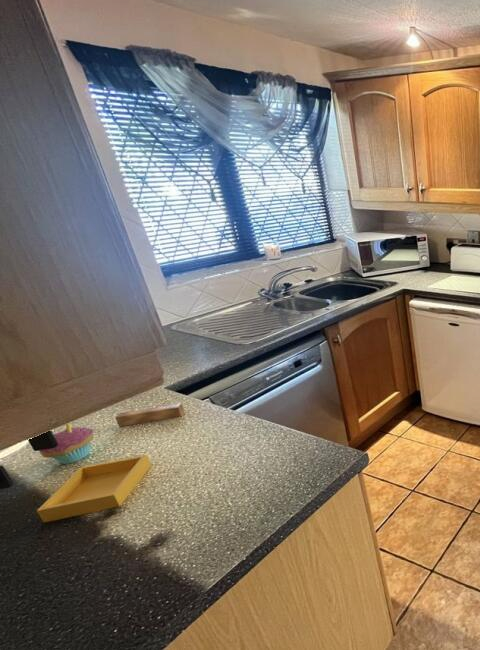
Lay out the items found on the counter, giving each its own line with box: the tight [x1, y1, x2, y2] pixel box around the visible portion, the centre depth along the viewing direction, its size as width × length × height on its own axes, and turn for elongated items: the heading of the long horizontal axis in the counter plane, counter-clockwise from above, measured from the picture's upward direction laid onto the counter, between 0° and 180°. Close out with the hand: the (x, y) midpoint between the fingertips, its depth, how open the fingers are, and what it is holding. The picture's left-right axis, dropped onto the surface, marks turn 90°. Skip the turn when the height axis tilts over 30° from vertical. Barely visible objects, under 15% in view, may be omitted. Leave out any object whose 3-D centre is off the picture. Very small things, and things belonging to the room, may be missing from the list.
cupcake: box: [39, 423, 94, 465], centre depth 89 cm, size 9×8×12 cm
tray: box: [36, 454, 152, 523], centre depth 81 cm, size 12×12×3 cm
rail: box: [114, 403, 185, 427], centre depth 104 cm, size 14×2×3 cm, turn 108°
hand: (25, 467), depth 66 cm, fingers open, 9 cm apart
